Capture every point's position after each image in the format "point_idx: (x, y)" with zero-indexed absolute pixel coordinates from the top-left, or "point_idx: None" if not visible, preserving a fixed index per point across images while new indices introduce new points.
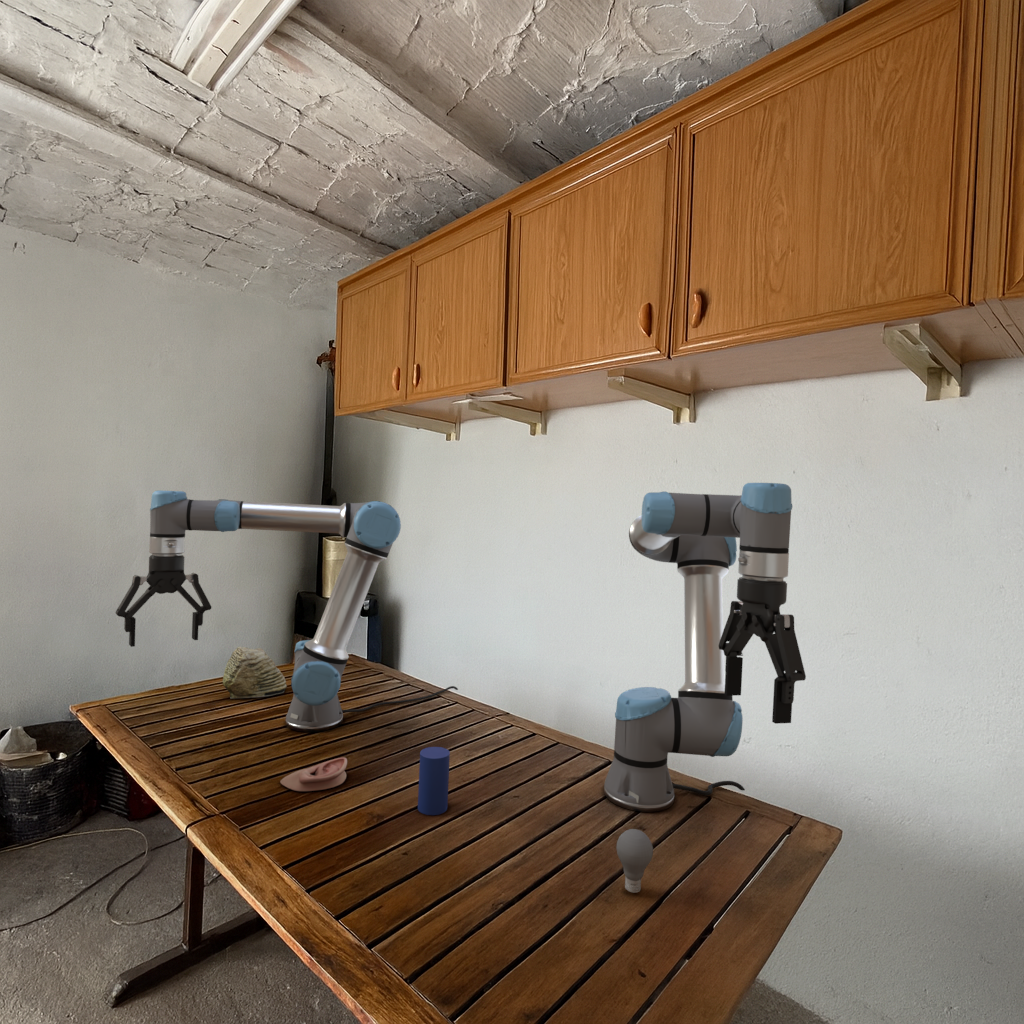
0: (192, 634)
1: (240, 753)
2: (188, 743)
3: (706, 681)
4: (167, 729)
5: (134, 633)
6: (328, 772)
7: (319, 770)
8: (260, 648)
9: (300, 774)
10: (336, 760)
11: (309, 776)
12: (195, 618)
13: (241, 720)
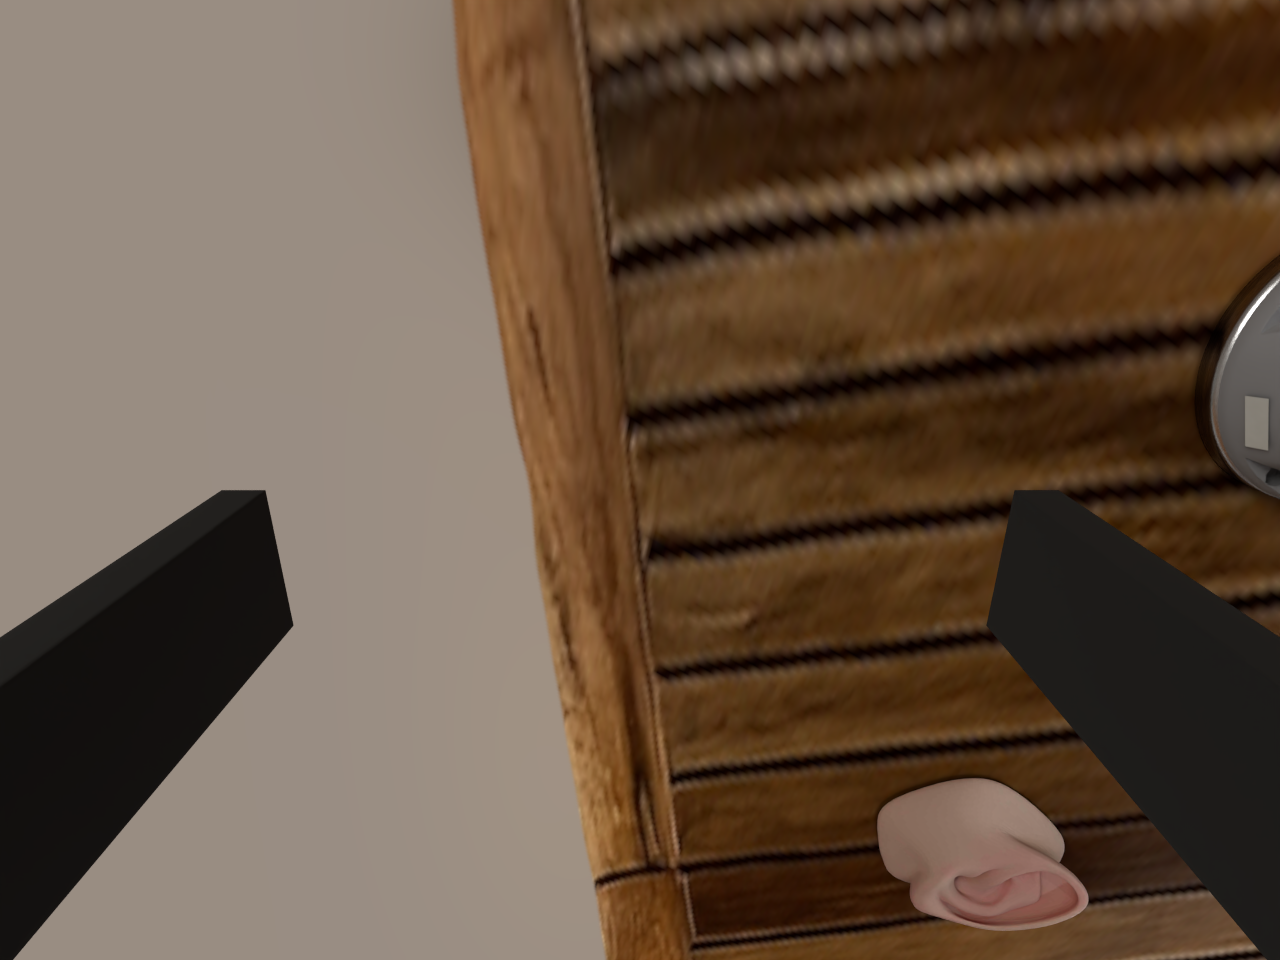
0: (1040, 544)
1: (891, 531)
2: (762, 304)
3: None
4: (734, 18)
5: (186, 743)
6: (997, 907)
7: (987, 882)
8: None
9: (924, 890)
10: (1063, 878)
11: (941, 897)
12: (1211, 887)
13: (1101, 102)
